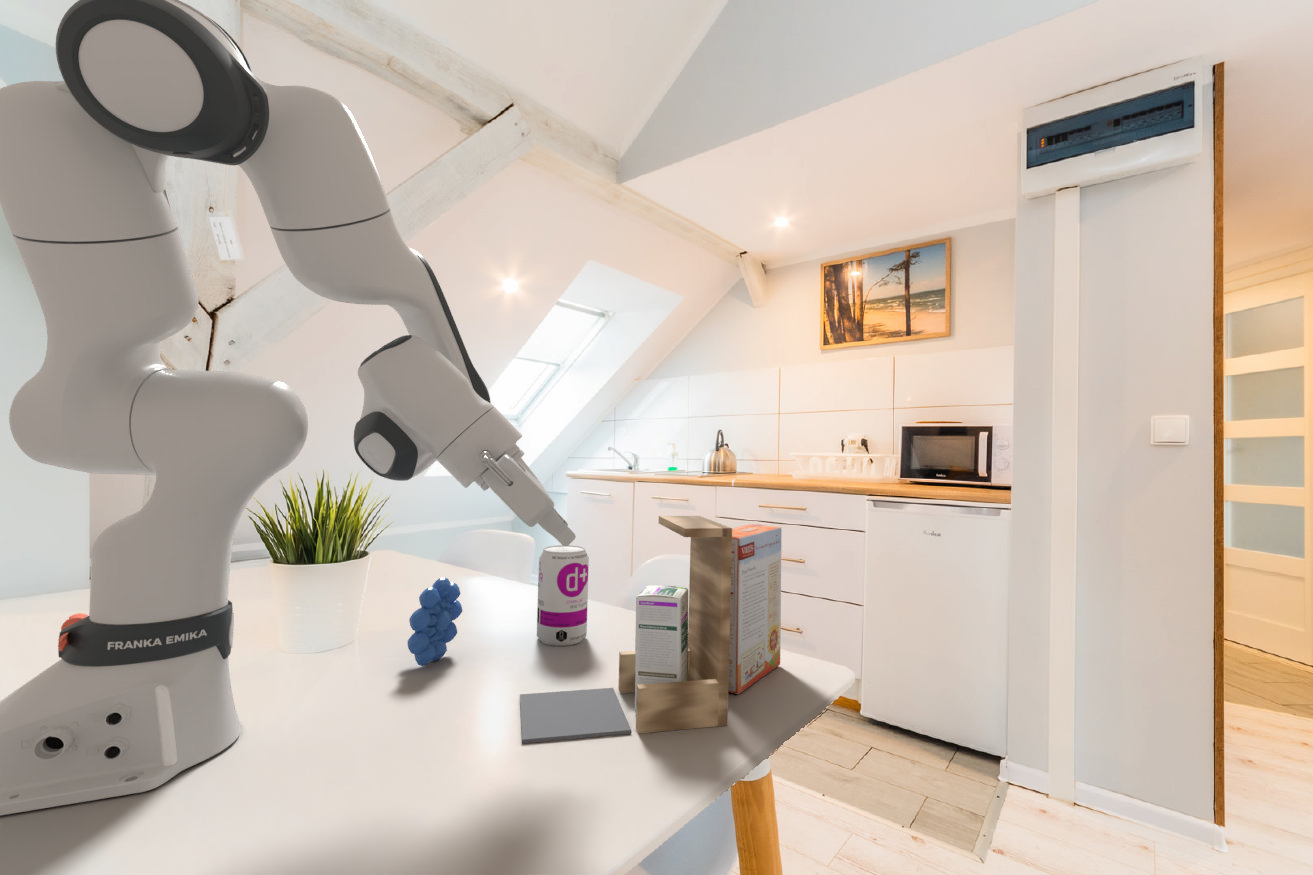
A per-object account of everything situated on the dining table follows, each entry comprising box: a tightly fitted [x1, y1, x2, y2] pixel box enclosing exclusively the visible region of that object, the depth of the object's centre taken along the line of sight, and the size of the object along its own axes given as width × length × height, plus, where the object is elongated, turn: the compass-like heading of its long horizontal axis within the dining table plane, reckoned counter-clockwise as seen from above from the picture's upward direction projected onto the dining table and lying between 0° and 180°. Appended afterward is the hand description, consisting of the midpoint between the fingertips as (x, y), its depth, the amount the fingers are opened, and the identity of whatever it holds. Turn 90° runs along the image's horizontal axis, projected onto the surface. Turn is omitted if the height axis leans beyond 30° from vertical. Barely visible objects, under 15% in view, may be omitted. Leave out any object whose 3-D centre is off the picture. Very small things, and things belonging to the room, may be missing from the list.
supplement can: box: [536, 544, 590, 647], centre depth 100 cm, size 8×8×15 cm
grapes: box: [407, 576, 464, 667], centre depth 88 cm, size 12×7×12 cm, turn 167°
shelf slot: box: [617, 515, 733, 734], centre depth 75 cm, size 11×12×23 cm
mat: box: [519, 687, 632, 744], centre depth 72 cm, size 12×12×1 cm
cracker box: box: [728, 523, 782, 695], centre depth 86 cm, size 14×6×21 cm, turn 145°
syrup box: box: [634, 584, 689, 714], centre depth 74 cm, size 6×6×14 cm
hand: (567, 535), depth 71 cm, fingers open, 8 cm apart
